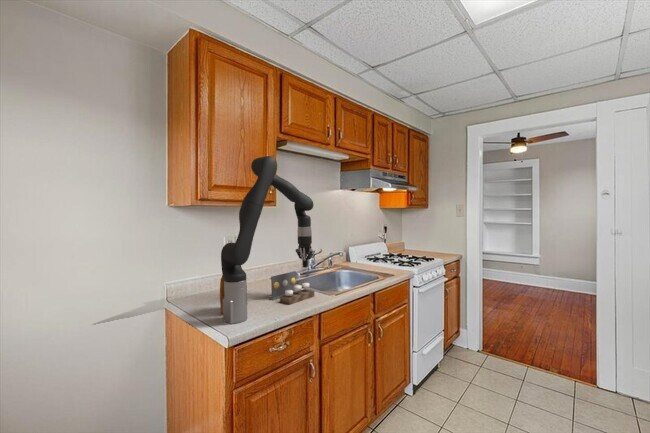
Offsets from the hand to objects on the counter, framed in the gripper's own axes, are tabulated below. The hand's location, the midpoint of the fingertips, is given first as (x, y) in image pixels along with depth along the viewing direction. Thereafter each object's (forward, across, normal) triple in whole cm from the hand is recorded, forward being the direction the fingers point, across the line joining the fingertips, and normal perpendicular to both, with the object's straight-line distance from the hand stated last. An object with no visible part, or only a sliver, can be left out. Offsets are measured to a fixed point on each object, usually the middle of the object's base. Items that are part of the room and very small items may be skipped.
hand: (305, 267), depth 165 cm
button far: (+11, 0, 0) cm, 11 cm away
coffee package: (+16, -10, -37) cm, 42 cm away
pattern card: (+16, -10, -6) cm, 20 cm away
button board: (+16, 0, -6) cm, 17 cm away
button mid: (+11, 0, -6) cm, 13 cm away
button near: (+12, 0, -12) cm, 17 cm away
